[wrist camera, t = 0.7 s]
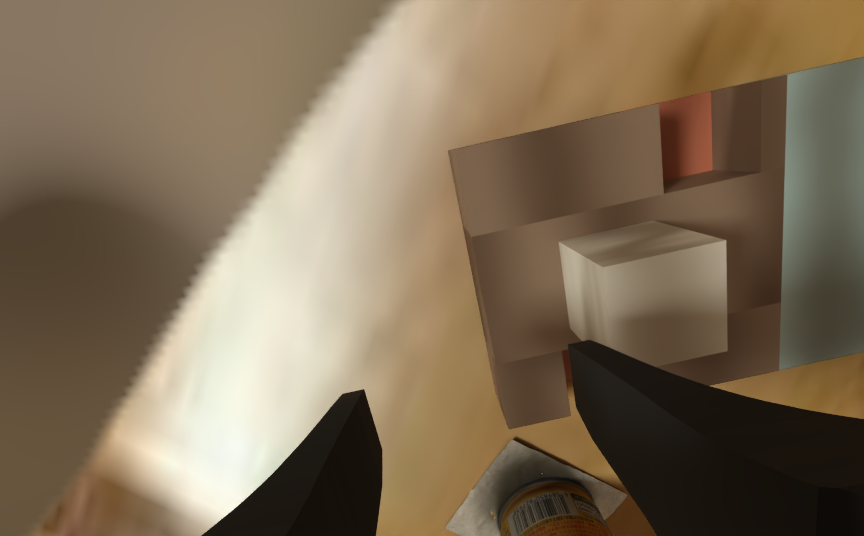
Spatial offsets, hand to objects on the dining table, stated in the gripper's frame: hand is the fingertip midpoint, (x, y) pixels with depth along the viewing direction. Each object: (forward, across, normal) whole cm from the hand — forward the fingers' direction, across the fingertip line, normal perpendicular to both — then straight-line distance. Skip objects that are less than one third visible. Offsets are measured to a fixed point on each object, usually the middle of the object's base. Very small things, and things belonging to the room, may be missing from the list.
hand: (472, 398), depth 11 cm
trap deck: (+9, -10, 0) cm, 14 cm away
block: (+6, -7, 0) cm, 9 cm away
